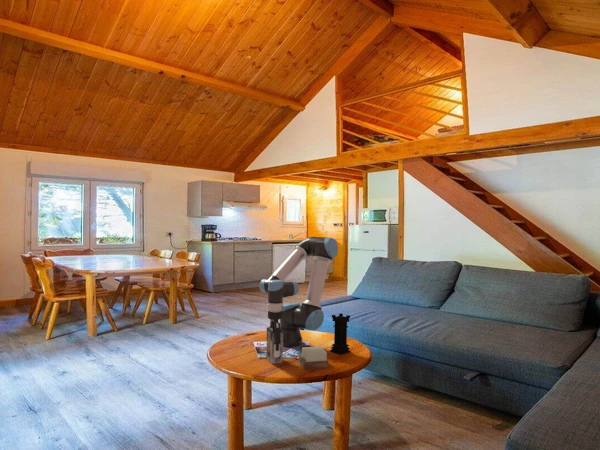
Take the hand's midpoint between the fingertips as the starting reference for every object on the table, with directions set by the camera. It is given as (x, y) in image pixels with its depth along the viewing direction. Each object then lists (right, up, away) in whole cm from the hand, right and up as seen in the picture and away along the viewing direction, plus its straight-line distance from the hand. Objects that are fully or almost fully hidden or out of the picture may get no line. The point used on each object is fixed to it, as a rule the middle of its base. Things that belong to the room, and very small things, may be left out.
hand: (274, 352), depth 209 cm
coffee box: (0, -4, 0) cm, 4 cm away
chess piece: (+35, -5, +16) cm, 39 cm away
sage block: (+20, -1, -6) cm, 21 cm away
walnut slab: (+20, -5, -5) cm, 21 cm away
